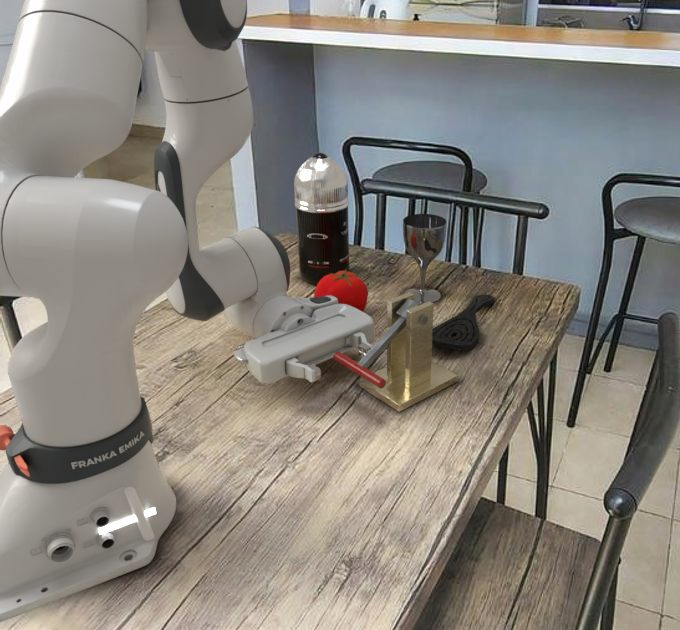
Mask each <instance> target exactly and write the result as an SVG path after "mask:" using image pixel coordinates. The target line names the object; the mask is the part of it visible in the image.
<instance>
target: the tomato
mask: <svg viewBox="0 0 680 630" xmlns="http://www.w3.org/2000/svg"><path fill="white" fill-rule="evenodd" d="M322 296H334V297H336V298H337V299H338V304H347V305H350V306H352V307H354V308H356V309H358V310H360V311H362V312H364V313H365V309H366V307H367V304H368V297H369V290H368V286H367V284H366V283H365V281H363V279H362V278H359V276H357V274H356V273H355V272H352V271H349V272H347V271H346V270H345V271H338V272H337V273H336V274H333V273H331V274H329V275H326V276H324V277H323V278H322V279H321V280H320V281H319V283H318V285H317V284H316V286H315V290H314V293H313V298H314V297H322Z"/></svg>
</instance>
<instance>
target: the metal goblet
mask: <svg viewBox="0 0 680 630" xmlns="http://www.w3.org/2000/svg"><path fill="white" fill-rule="evenodd" d="M446 236H447V219H446V218H444V217H443V216H440V215H436V214H432V213H431V214H430V213H414V214H410V215H407V216H405V217H404V218H403V219H402V237H403V244H404V247H405V251H406V252H407V253H408V255H410V257H411V258H412V259H413V261H415V263H416V264H417V266H418V269H419V276H420V286H419V287H418V286H417V287H412V288H409V289H407V290H405V292H404V293H403V294H406V293H409V292H411V293H413V294H414V302H416V303H418V304H419V305H421V304H423V303H426V302H428V301H429V302H432V303H433V304H434V303H436V302H438V301H440V299H441V298H442V295H441V293H440V291H438V290H436V289H434V288H430V287H426V274H427V270H428V268H429V265H430V264H431V263H432V262H433V261H434V260H435V259H436V258H437V257H438V256H439V255H440V254H441V252H442V250H443V248H444V244H445V240H446Z"/></svg>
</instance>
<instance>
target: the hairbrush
mask: <svg viewBox="0 0 680 630" xmlns="http://www.w3.org/2000/svg"><path fill="white" fill-rule="evenodd" d="M494 302H495V296H493V295H490V294H478V295H475V296H473V299H472V300H471V302H469V304H468V305H467V306H466V307H465V308H464V309H463V310H462V311H461V312H460V311H458V312H457V313H456V315H455V314H454V313H453V314H452V315H450V316H449V317H448V318H445V319H443V321H442V320H441V321H440V323H439V324H438V323H436V325H433V333H432V346H437V347H441V348H445V349H451V350H457V351H460V350H462V351H463V350H465V351H467V350H472V348H474V346H476V345H477V344H478V343H479V337H480V328H479V327H480V326H479V324H480V323H479V322H478V319H479V318H477V314H478V312H480V311H481V310H482V309H483V308H485V307H488V306H490V305H492V304H493V303H494ZM454 315H455V316H454Z"/></svg>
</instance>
